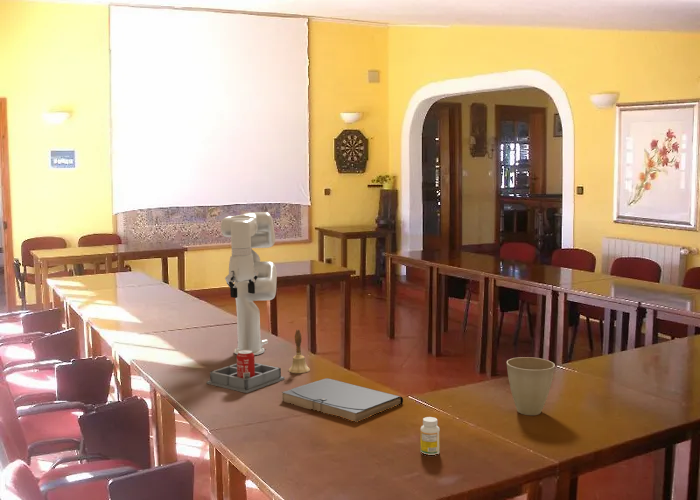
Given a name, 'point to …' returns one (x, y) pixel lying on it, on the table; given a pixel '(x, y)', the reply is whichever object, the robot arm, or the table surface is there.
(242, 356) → the beverage can
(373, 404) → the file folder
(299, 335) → the hand bell
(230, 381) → the drink carrier
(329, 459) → the table surface
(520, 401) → the plant pot
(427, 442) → the supplement bottle
